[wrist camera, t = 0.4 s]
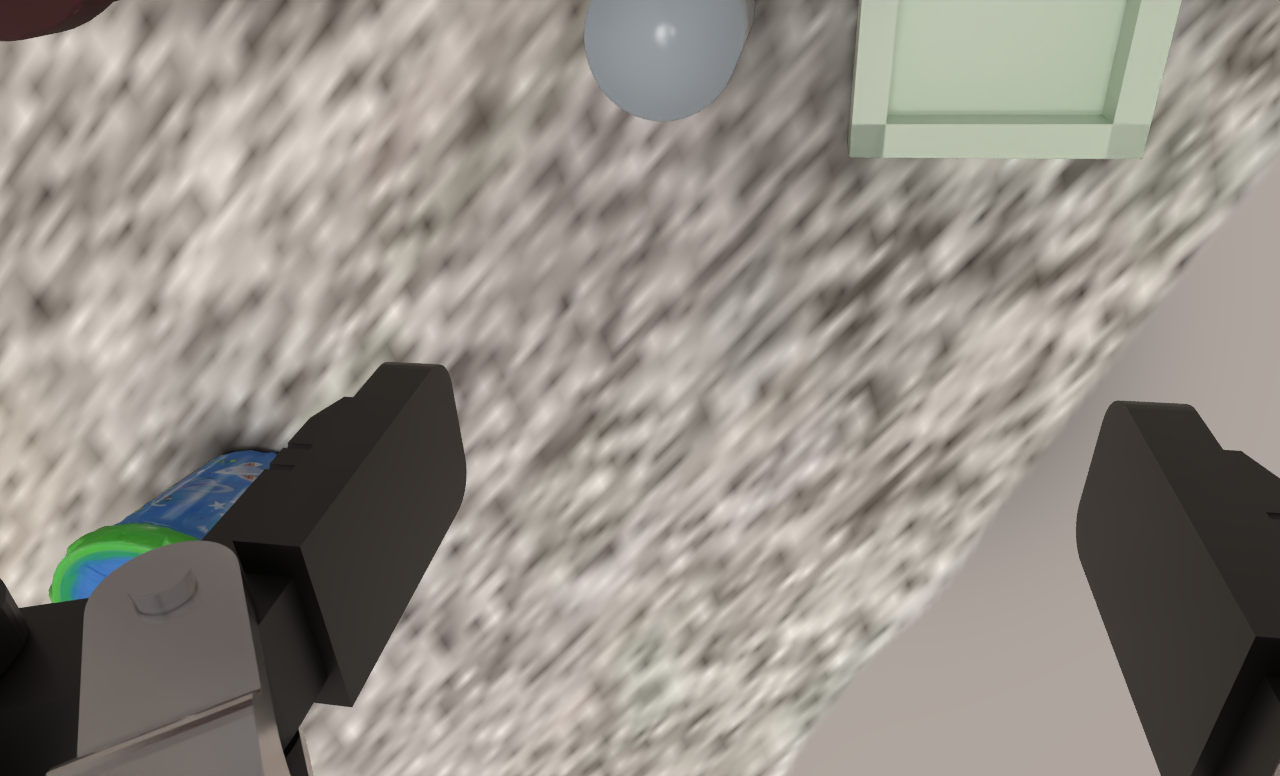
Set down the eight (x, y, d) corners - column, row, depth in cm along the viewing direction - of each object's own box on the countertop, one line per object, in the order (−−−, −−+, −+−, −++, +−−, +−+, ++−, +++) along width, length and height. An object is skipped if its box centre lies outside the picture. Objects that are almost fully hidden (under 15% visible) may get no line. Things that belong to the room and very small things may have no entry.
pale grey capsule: (628, -60, 31) (578, -44, 25) (756, -65, 31) (740, -49, 24) (634, 72, 34) (589, 121, 27) (753, 71, 33) (738, 121, 26)
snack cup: (387, 430, 45) (285, 562, 36) (418, 583, 50) (336, 730, 41) (118, 409, 47) (-37, 528, 39) (175, 557, 53) (50, 690, 44)
